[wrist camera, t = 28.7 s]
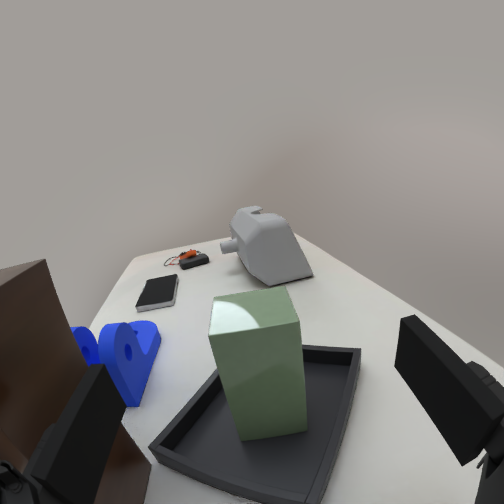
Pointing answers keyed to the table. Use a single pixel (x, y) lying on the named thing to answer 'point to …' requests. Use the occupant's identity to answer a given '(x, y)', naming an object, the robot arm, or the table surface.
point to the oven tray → (267, 449)
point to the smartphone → (158, 293)
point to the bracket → (122, 354)
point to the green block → (260, 362)
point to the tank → (266, 247)
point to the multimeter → (191, 259)
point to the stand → (50, 380)
